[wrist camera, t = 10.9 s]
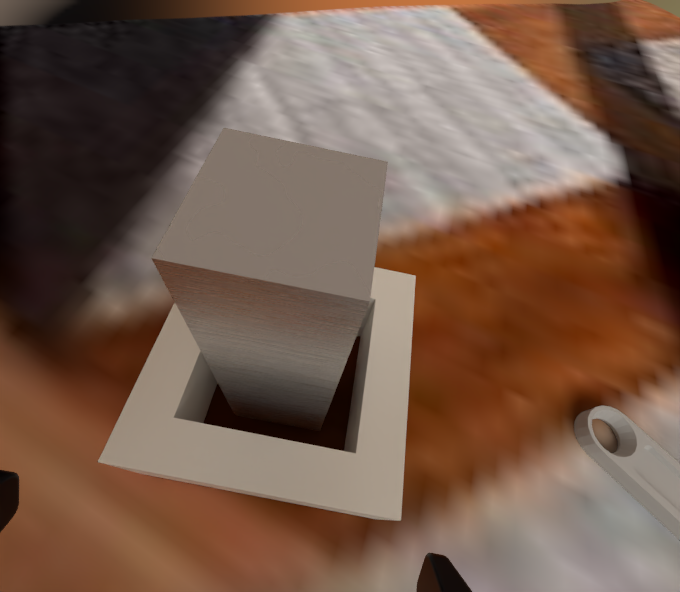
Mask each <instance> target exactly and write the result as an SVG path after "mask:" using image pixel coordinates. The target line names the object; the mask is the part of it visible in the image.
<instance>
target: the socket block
mask: <svg viewBox="0 0 680 592" xmlns="http://www.w3.org/2000/svg"><path fill="white" fill-rule="evenodd" d="M415 279H416V276H415V275H410V274H405V273H400V272H395V271H391V270H386V269H381V268H376V267H374V274H373V282H372V289H371V297H370V303H369V305H368V308H367V310H366V313H365V316H364V318H363V321H362V323H361V326H360V328H359V331H358V334H357V336H360V343H359V350H358V357H357V364H356V370H355V377H354V384H353V391H352V398H351V405H350V412H349V418H348V425H347V432H346V439H345V446H344V451H341V450H336V449H331V448H326V447H321V446H316V445H311V444H305V443H300V442H295V441H290V440H285V439H280V438H275V437H270V436H265V435H260V434H255V433H250V432H245V431H240V430H234V429H229V428H224V427H219V426H214V425H209V424H204V420H205V417H206V414H207V411H208V409H209V406H210V403H211V400H212V397H213V395H214V392H215V389H216V386H217V381H216V379H215V377H214V375H213V373H212V371H211V369H210V367H209V366H208V364H207V362H206V360H205V358H204V356H203V354H202V352H201V350H200V349H199V347H198V345H197V343H196V341H195V339H194V337H193V335H192V334H191V332H190V330H189V328H188V326H187V324H186V322H185V320H184V318H183V317H182V315H181V313H180V311H179V309H178V307H177V305H176V303H174V305H173V307H172V309H171V311H170V313H169V315H168V317H167V319H166V321H165V323H164V325H163V328H162V330H161V332H160V334H159V336H158V338H157V340H156V342H155V344H154V346H153V348H152V350H151V352H150V354H149V357H148V359H147V361H146V363H145V365H144V367H143V369H142V371H141V373H140V375H139V377H138V379H137V381H136V383H135V386H134V388H133V390H132V392H131V394H130V396H129V398H128V400H127V402H126V404H125V406H124V408H123V410H122V413H121V415H120V417H119V419H118V421H117V423H116V425H115V427H114V429H113V431H112V433H111V435H110V437H109V439H108V442H107V444H106V446H105V448H104V450H103V452H102V454H101V456H100V458H99V460H98V462H100V463H103V464H107V465H111V466H114V467H118V468H121V469H125V470H129V471H132V472H136V473H140V474H144V475H150V476H155V477H160V478H165V479H170V480H175V481H181V482H186V483H191V484H196V485H201V486H206V487H212V488H217V489H222V490H227V491H232V492H237V493H243V494H248V495H253V496H258V497H263V498H268V499H274V500H279V501H284V502H289V503H294V504H299V505H304V506H310V507H315V508H320V509H325V510H330V511H335V512H341V513H346V514H351V515H356V516H361V517H366V518H372V519H380V520H396V521H401V512H402V495H403V479H404V462H405V445H406V429H407V412H408V395H409V379H410V362H411V346H412V329H413V312H414V296H415Z"/></svg>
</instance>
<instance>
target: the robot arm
mask: <svg viewBox="0 0 680 592" xmlns="http://www.w3.org/2000/svg"><path fill="white" fill-rule="evenodd" d="M18 505H19V476H18V475H17V473H14V472H9V471H4V470H0V532H1V531H2V530H3V529H4V527H5V526H6V525H7V524H8V523H9V521H10V520H11V519H12V517H13V516H14V514H15V513H16V511H17V509H18ZM417 592H472V591H471V589H470V588H469V587H468V585H467V584H466V582H465V581H464V580H463V578H462V577H461V575H460V574H459V573H458V571H457V570H456V569H455V567H454V566H453V564H452V563H451V562H450V560H449V559H448V558H447V557H446V556H444V555H439V554H434V553H428V554H427V555H426V557H425V559H424V563H423V566H422V569H421V572H420V575H419V578H418V582H417Z"/></svg>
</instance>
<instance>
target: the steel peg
mask: <svg viewBox="0 0 680 592" xmlns="http://www.w3.org/2000/svg"><path fill="white" fill-rule="evenodd" d="M387 163H388V162H386V161H381V160H376V159H371V158H366V157H362V156H357V155H352V154H347V153H342V152H338V151H333V150H328V149H323V148H318V147H314V146H309V145H304V144H299V143H294V142H290V141H285V140H280V139H275V138H270V137H266V136H261V135H256V134H251V133H246V132H242V131H237V130H232V129H227V128H223V130H222V132H221V134H220V136H219V137H218V139H217V141H216V143H215V145H214V146H213V148H212V150H211V152H210V154H209V155H208V157H207V159H206V161H205V163H204V164H203V166H202V168H201V170H200V172H199V173H198V175H197V177H196V179H195V181H194V182H193V184H192V186H191V188H190V190H189V191H188V193H187V195H186V197H185V199H184V200H183V202H182V204H181V206H180V208H179V209H178V211H177V213H176V215H175V217H174V218H173V220H172V222H171V224H170V226H169V227H168V229H167V231H166V233H165V235H164V236H163V238H162V240H161V242H160V244H159V245H158V247H157V249H156V251H155V253H154V254H153V256H152V260H153V262H154V264H155V266H156V268H157V270H158V271H159V273H160V275H161V277H162V279H163V281H164V283H165V285H166V286H167V288H168V290H169V292H170V294H171V296H172V298H173V300H174V302H175V303H176V305H177V307H178V309H179V311H180V313H181V315H182V317H183V318H184V320H185V322H186V324H187V326H188V328H189V330H190V332H191V334H192V335H193V337H194V339H195V341H196V343H197V345H198V347H199V349H200V350H201V352H202V354H203V356H204V358H205V360H206V362H207V364H208V366H209V367H210V369H211V371H212V373H213V375H214V377H215V379H216V381H217V383H218V384H219V386H220V388H221V390H222V392H223V394H224V396H225V398H226V399H227V401H228V403H229V405H230V407H231V409H232V411H233V413H234V415H236V416H241V417H246V418H252V419H257V420H262V421H268V422H273V423H278V424H284V425H289V426H294V427H300V428H305V429H310V430H316V431H320V429H321V427H322V424H323V422H324V419H325V416H326V414H327V411H328V409H329V406H330V403H331V401H332V398H333V396H334V393H335V391H336V388H337V385H338V383H339V380H340V378H341V375H342V372H343V370H344V367H345V365H346V362H347V359H348V357H349V354H350V352H351V349H352V347H353V344H354V341H355V339H356V336H357V334H358V331H359V328H360V326H361V323H362V321H363V318H364V316H365V313H366V310H367V308H368V305H369V303H370V297H371V289H372V282H373V274H374V266H375V258H376V250H377V242H378V234H379V226H380V219H381V211H382V203H383V195H384V187H385V179H386V171H387Z"/></svg>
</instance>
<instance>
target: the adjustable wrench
mask: <svg viewBox="0 0 680 592" xmlns="http://www.w3.org/2000/svg"><path fill="white" fill-rule="evenodd" d="M596 418H597V419H600V420H602V421H604V422H605V423H606V424H608V426H609V427H610V428H611V429H612V430H613V432H614V434H615V435H616V438H617V442H618V448H617V451H616V452H614V453H610V452H609V451H607V450H606V449H605V448H604V447H603V446H602V445H601V444H600V443H599V442H598V440H597V438H596V437H595V435H594V432H593V429H592V419H596ZM574 431H575V435H576V439H577V440H578V442H579V444H580V446H581V447H582V449H583V450H584V451H585V452H586V453H587V454H588V455H589V456H590V457H591V458H592V459H593V460H594V461H595V462H596V463H597V464H598V465H599V466H600V467H601V468H603V469H604V470H605V471H606V472H607V473H608V474H609V475H610V476H611V477H612V478H613V479H614V480H615V481H616V482H617V483H619V484H620V485H621V486H622V487H623V488H624V489H625V490H626V491H627V492H628V493H629V494H630V495H631V496H632V497H634V498H635V499H636V500H637V501H638V502H639V503H640V504H641V505H642V506H643V507H644V508H645V509H646V510H647V511H648V512H650V513H651V514H652V515H653V516H654V517H655V518H656V519H657V520H658V521H659V522H660V523H661V524H662V525H663V526H664V527H666V528H667V529H668V530H669V531H670V532H671V533H672V534H673V535H674V536H675V537H676V538H677V539H678V540H679V541H680V463H679V462H677V461H676V460H675V459H674V458H673V457H672V456H671V455H670V454H668V453H667V452H666V451H665V450H664V449H663V448H662V447H661V446H659V445H658V444H657V443H656V442H655V441H654V440H653V439H652V438H650V437H649V436H648V435H647V434H646V433H645V432H644V431H643V430H641V429H640V428H639V427H638V426H637V425H636V424H635V423H634V422H632V421H631V420H630V419H629V418H628V417H627V416H626V415H624V414H623V413H622V412H620V411H619V410H617V409H615V408H612V407H610V406H598V407H595V408H592V409H589V410H586V411H584V412H581V413H580V414H579V415H578V416H577V417H576V420H575V422H574Z"/></svg>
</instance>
